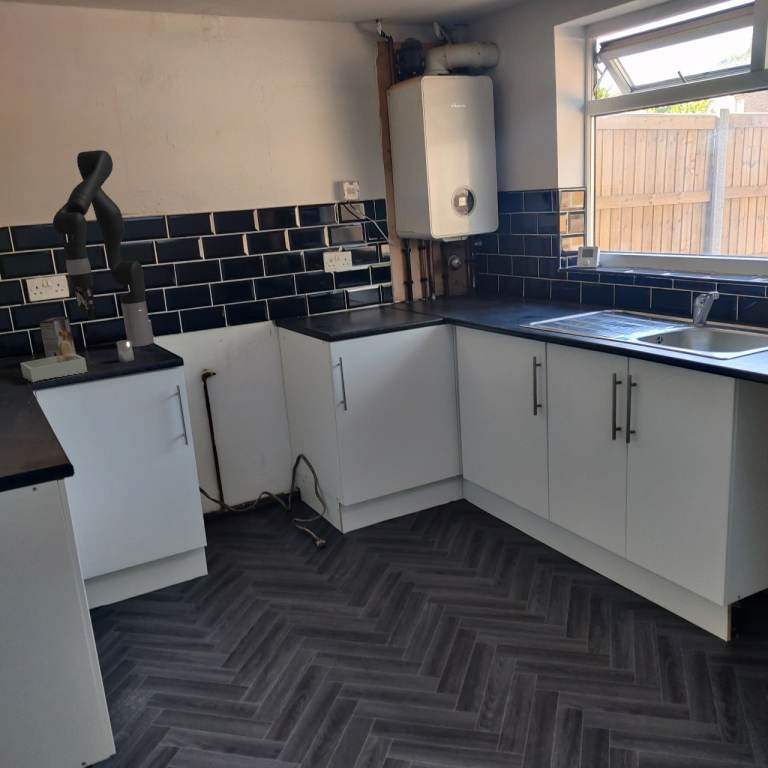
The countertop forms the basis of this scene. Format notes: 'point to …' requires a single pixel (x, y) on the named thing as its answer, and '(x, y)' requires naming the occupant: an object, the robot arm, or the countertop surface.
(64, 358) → the beech cube
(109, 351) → the countertop surface
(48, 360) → the tote
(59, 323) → the coffee box
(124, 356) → the grey metal cylinder
